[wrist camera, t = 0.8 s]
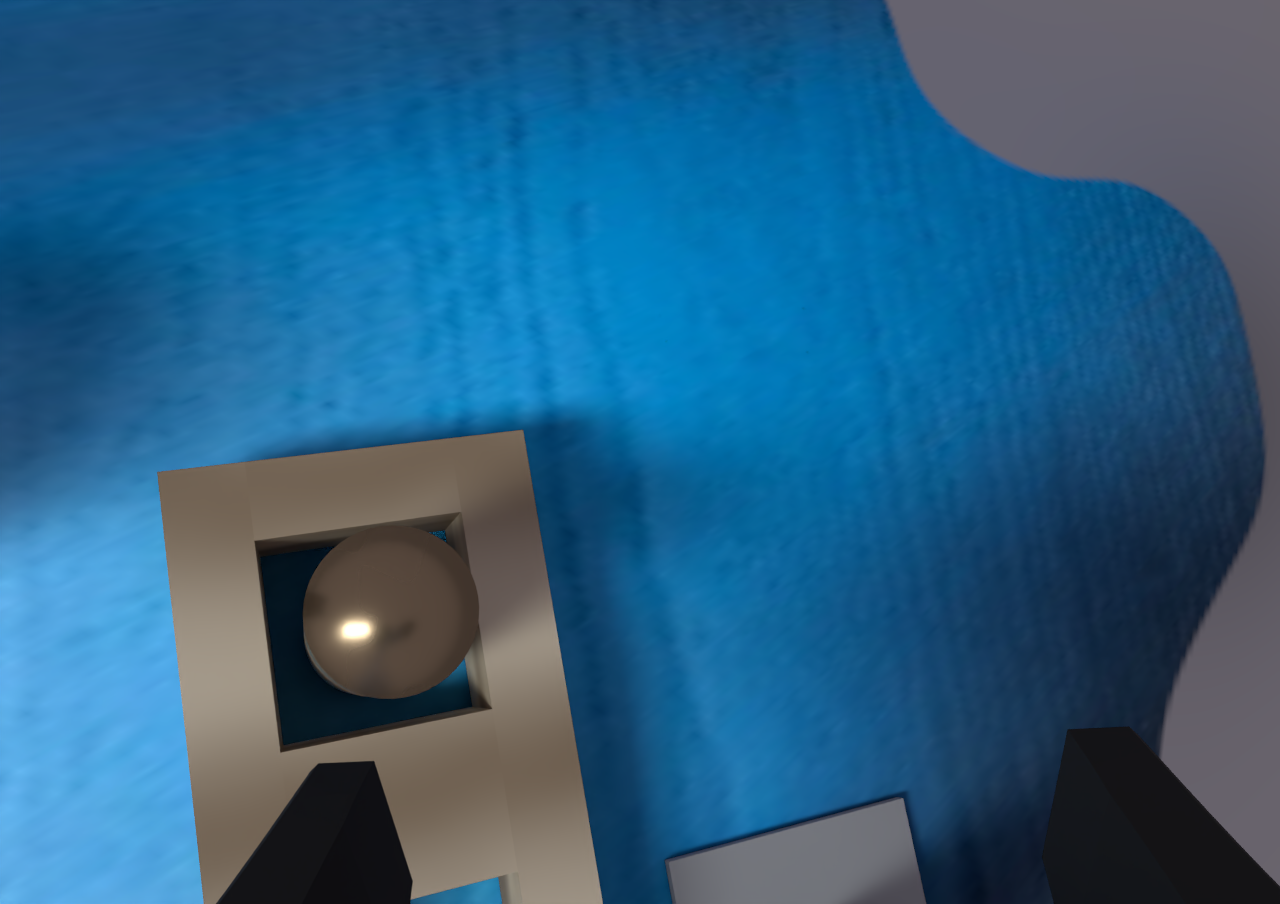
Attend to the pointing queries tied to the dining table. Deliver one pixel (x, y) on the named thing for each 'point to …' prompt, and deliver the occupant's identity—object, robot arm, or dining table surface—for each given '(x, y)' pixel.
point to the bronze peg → (389, 613)
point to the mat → (808, 863)
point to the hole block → (402, 751)
